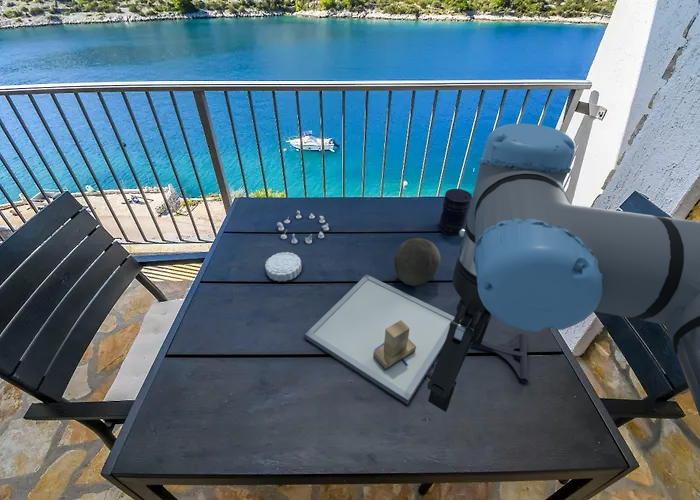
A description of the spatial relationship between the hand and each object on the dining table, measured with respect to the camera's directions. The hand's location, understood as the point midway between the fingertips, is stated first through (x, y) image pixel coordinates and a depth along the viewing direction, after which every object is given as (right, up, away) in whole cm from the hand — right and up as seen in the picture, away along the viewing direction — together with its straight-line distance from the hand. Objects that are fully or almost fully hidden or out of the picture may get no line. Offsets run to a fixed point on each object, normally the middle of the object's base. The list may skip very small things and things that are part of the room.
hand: (456, 370), depth 53 cm
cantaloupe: (+5, +9, +62) cm, 62 cm away
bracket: (+23, -9, +40) cm, 47 cm away
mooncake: (-39, +12, +65) cm, 77 cm away
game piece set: (-35, +27, +84) cm, 95 cm away
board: (-7, -4, +45) cm, 46 cm away
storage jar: (+24, +27, +85) cm, 92 cm away
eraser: (-5, -9, +37) cm, 38 cm away
